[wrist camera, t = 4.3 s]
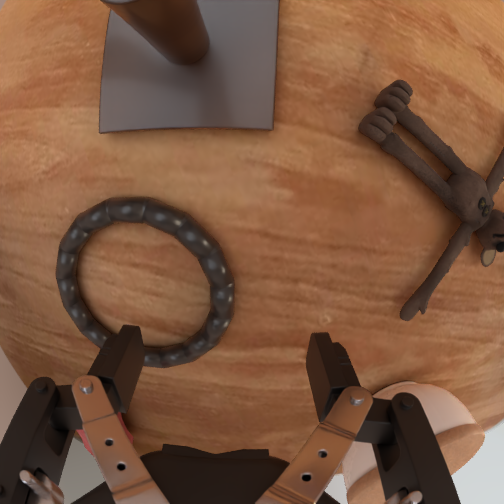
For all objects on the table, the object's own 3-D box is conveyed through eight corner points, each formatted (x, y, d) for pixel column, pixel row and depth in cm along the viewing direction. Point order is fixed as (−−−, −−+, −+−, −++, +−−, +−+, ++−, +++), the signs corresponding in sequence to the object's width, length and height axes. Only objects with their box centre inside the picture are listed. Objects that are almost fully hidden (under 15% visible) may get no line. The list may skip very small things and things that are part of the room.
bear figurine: (449, -2, 9) (570, 160, 11) (418, 20, 13) (535, 154, 15) (283, 258, 14) (452, 363, 16) (279, 233, 18) (428, 330, 20)
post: (107, 133, 14) (-9, 147, 6) (121, -6, 11) (43, -77, 2) (271, 131, 15) (311, 126, 6) (278, -14, 11) (310, -116, 3)
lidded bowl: (319, 449, 26) (338, 535, 16) (340, 372, 21) (382, 494, 11) (419, 425, 26) (452, 496, 16) (460, 347, 22) (520, 428, 11)
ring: (83, 348, 20) (77, 359, 18) (50, 198, 15) (39, 203, 14) (232, 362, 20) (232, 376, 19) (237, 196, 16) (236, 201, 15)
